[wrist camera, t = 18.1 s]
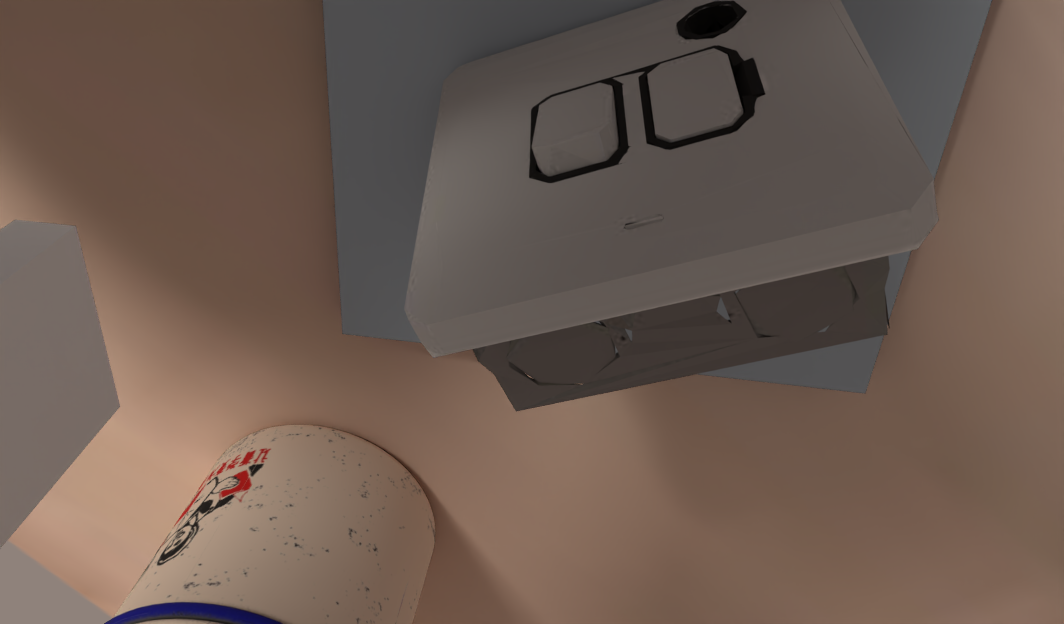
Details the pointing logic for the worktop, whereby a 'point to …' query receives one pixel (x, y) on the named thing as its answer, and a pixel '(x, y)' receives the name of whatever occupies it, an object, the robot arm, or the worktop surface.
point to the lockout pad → (533, 14)
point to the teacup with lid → (293, 538)
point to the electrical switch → (664, 198)
